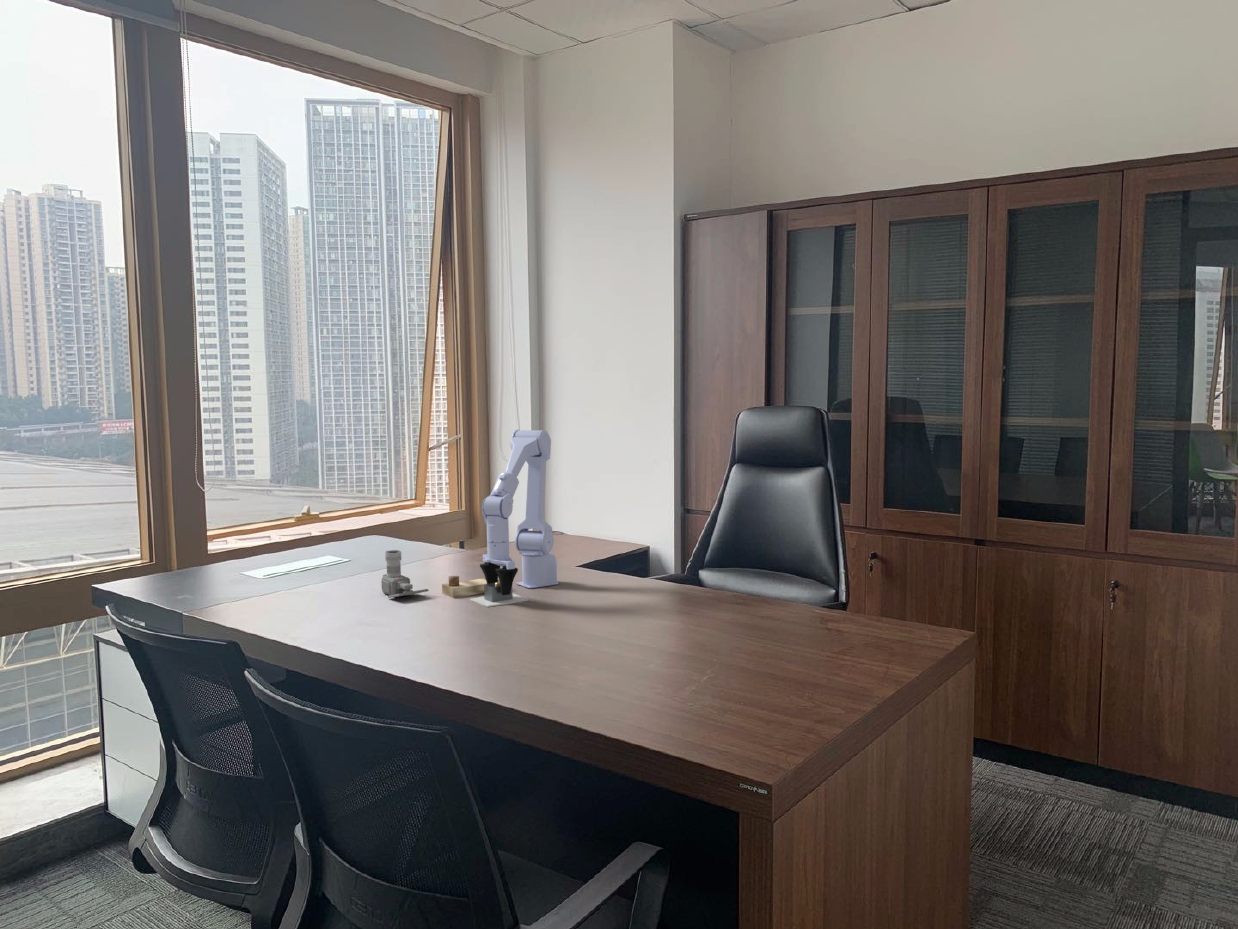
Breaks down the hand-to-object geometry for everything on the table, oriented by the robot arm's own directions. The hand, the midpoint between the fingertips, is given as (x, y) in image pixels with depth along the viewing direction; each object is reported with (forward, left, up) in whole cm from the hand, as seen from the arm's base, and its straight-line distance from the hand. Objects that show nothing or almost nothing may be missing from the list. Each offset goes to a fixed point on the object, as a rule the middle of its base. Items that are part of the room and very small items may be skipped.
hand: (499, 592), depth 246 cm
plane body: (+1, -14, -2) cm, 14 cm away
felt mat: (0, 0, -2) cm, 2 cm away
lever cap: (0, 0, -2) cm, 2 cm away
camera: (+19, -21, -2) cm, 29 cm away
